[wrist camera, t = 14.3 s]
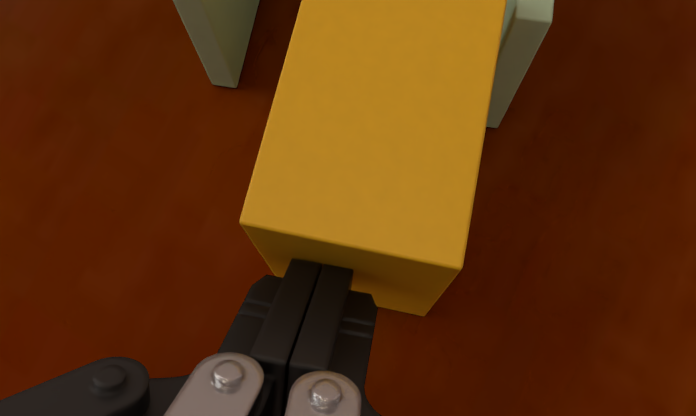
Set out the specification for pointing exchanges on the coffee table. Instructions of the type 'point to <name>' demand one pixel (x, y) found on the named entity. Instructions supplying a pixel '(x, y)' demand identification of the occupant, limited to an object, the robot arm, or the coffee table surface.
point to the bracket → (240, 10)
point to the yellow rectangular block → (377, 143)
